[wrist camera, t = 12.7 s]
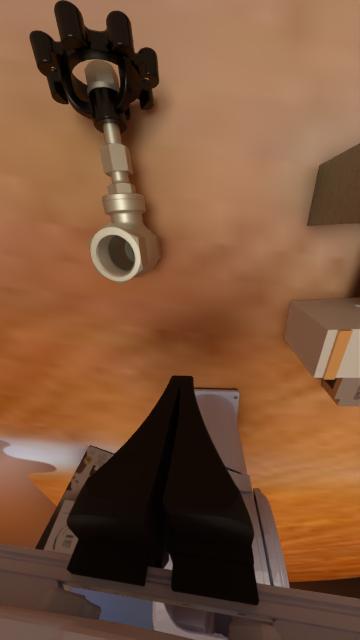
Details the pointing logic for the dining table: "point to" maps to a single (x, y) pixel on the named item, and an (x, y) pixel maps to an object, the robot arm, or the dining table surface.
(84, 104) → the valve
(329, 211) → the rail
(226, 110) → the dining table surface
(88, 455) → the coffee box
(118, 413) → the dining table surface
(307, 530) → the dining table surface
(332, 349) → the block
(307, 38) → the dining table surface
